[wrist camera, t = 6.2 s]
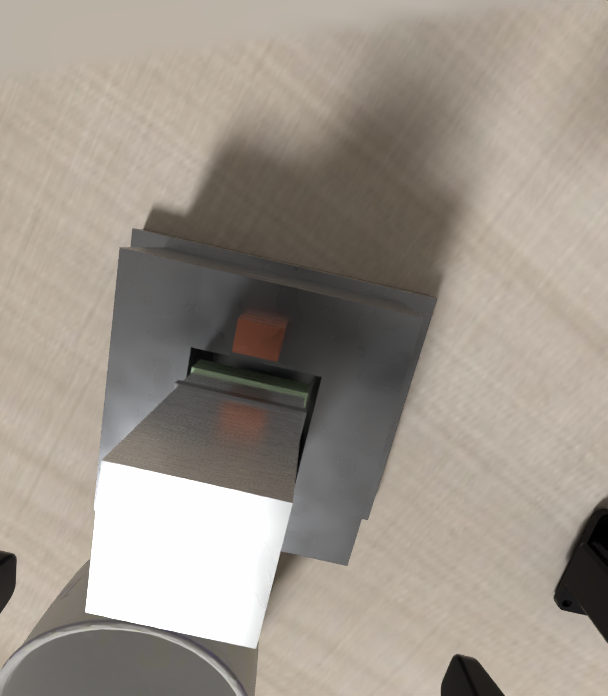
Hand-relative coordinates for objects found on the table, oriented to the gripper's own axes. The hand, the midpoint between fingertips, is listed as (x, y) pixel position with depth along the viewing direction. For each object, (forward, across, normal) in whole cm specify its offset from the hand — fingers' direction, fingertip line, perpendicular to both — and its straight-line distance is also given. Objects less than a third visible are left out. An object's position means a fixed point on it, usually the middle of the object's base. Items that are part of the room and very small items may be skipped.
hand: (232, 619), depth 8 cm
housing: (+13, +1, 0) cm, 13 cm away
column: (+8, +1, 0) cm, 8 cm away
